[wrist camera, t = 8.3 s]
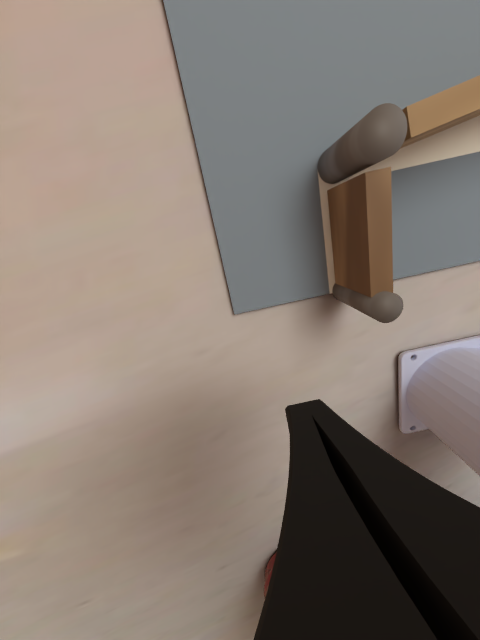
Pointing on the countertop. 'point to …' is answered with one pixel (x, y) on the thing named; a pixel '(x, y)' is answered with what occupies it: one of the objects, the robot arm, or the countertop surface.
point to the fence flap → (442, 110)
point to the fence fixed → (364, 212)
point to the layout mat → (324, 130)
